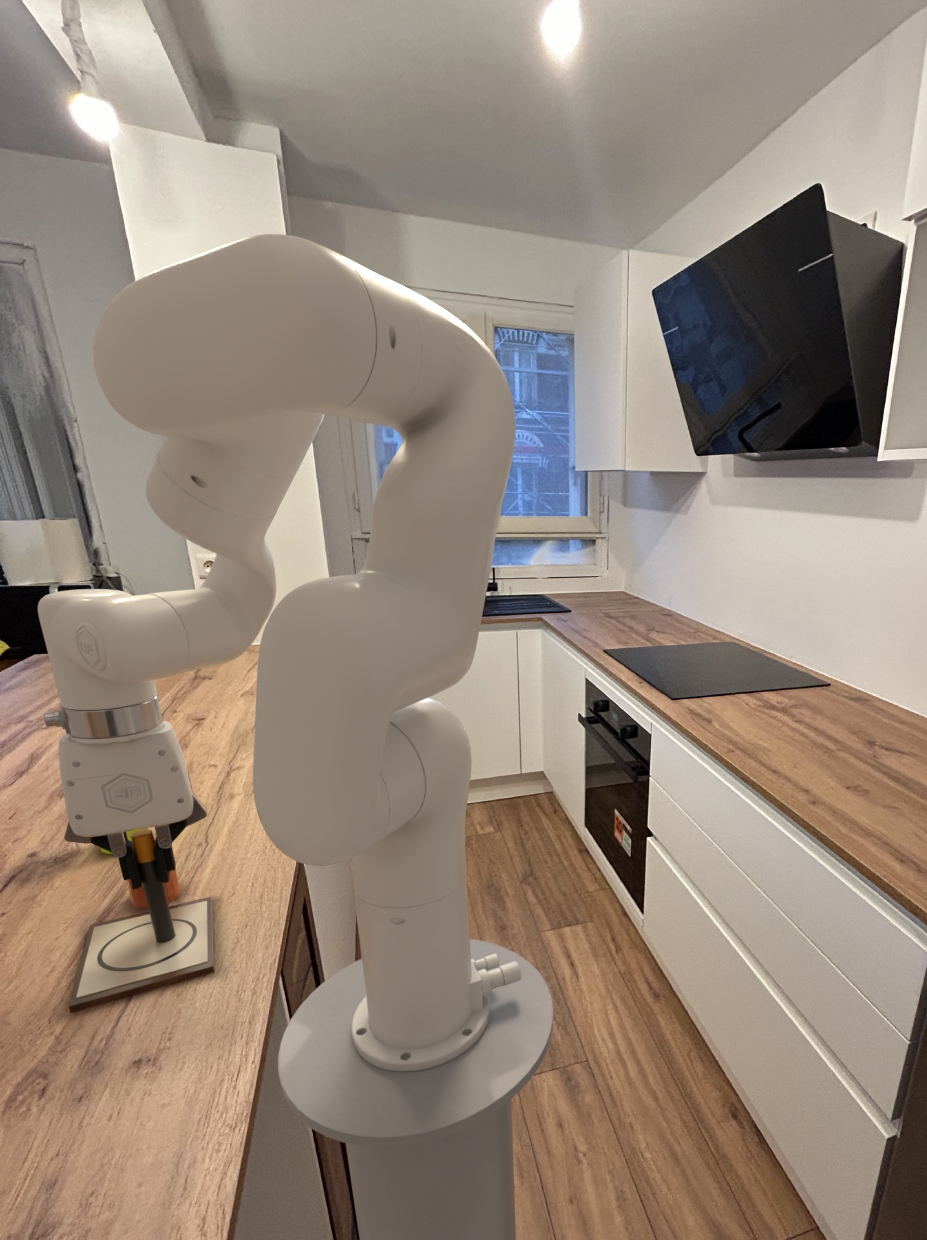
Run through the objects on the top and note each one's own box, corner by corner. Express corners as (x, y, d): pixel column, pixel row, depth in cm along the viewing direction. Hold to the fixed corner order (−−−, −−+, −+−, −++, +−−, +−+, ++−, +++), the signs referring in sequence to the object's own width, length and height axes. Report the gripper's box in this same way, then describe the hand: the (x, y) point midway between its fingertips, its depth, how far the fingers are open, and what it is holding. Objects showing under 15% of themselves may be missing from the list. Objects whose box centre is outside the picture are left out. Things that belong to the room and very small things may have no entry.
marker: (175, 931, 73) (152, 828, 69) (175, 939, 72) (151, 835, 67) (156, 936, 72) (131, 831, 68) (155, 944, 71) (130, 839, 67)
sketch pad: (212, 901, 80) (211, 895, 80) (214, 972, 68) (213, 964, 68) (91, 930, 74) (89, 923, 74) (70, 1013, 62) (67, 1005, 62)
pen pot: (181, 882, 84) (170, 834, 82) (179, 901, 80) (168, 851, 78) (134, 892, 82) (122, 843, 79) (130, 912, 78) (117, 861, 75)
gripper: (-2, 741, 57) (51, 919, 62) (209, 718, 64) (237, 878, 70) (18, 717, 63) (64, 882, 69) (208, 699, 71) (234, 848, 76)
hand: (151, 879), depth 69 cm, fingers closed on marker, 1 cm apart
